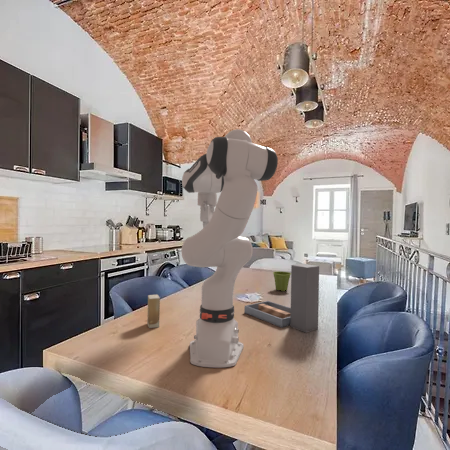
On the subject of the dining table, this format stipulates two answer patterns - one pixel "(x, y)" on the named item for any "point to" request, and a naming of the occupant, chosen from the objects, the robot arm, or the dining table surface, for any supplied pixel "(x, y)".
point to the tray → (277, 321)
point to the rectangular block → (273, 311)
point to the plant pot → (281, 280)
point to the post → (304, 297)
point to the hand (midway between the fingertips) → (206, 231)
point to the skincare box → (153, 311)
